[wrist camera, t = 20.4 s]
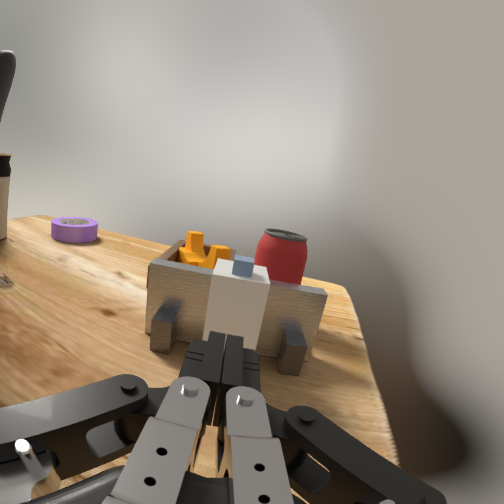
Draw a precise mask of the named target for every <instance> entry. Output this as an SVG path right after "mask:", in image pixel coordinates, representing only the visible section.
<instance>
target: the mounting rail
mask: <svg viewBox="0 0 504 504" xmlns="http://www.w3.org/2000/svg"><path fill="white" fill-rule="evenodd" d="M213 271H214V269H209V268H204V267H199V266H194V265H189V264H183V263H178V262H173V261H168V260H163V259H158V258H155V259H154V260H153V261H152V262H150V268H149V279H148V291H147V305H146V323H145V333H148V334H151V339H150V350H153V351H157V352H161V353H165V354H170V351H171V349H172V347H173V345H174V343H175V340H178V341H183V342H187V343H191V342H193V341H194V340H195V339H199V340H202V339H203V332H204V325H205V318H206V311H207V304H208V298H209V291H210V285H211V279H212V273H213ZM269 281H270V288H269V293H268V297H267V302H266V307H265V311H264V316H263V320H262V325H261V328H260V332H259V337H258V341H257V345H256V350H255V352H256V354H257V355H260V356H267V357H275V358H277V362H278V369H279V374H288V375H297V376H298V375H299V373H300V370H301V367H302V363H303V361H308V359H309V356H310V353H311V350H312V346H313V343H314V340H315V337H316V334H317V330H318V327H319V324H320V321H321V317H322V314H323V310H324V307H325V304H326V300H327V296H328V295H327V293H326V292H325V291H324V289H322V288H316V287H310V286H304V285H298V284H292V283H286V282H281V281H275V280H269Z"/></svg>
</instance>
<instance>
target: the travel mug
mask: <svg viewBox="0 0 504 504" xmlns="http://www.w3.org/2000/svg"><path fill="white" fill-rule="evenodd" d="M11 156H12V154H10V153H0V240H2V239H4V238H5V237H6V236H7V208H8V193H9V181H10V173H11V168H10V164H9V161H10V157H11Z"/></svg>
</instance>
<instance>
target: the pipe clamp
mask: <svg viewBox="0 0 504 504" xmlns="http://www.w3.org/2000/svg"><path fill="white" fill-rule="evenodd" d="M203 236H204V234H203V233H201V232H195V231H187V236H186V243H185V247H180V248H179V250H178V260H177V262H178V263H183V264H189V265H194V266H199V267H204V268H209V269H214V268H215V265H216V263H217V260H218V258H219V259H225V260H229V256H230V250H231V249H230V248H228V247H226V246H222V245H221V246H220V245H211V248H210V252H209V254H208V256H207V258H206V255H205V253H204V248H203Z"/></svg>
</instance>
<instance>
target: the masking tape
mask: <svg viewBox="0 0 504 504" xmlns="http://www.w3.org/2000/svg"><path fill="white" fill-rule="evenodd" d="M97 228H98V222H97V221H95V220H92V219H87V218H80V217H62V218H56V219H53V220H52V224H51V237H52V238H53V239H55V240H58V241H62V242H69V243H86V242H91V241H94V240H96V239H97Z"/></svg>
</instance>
